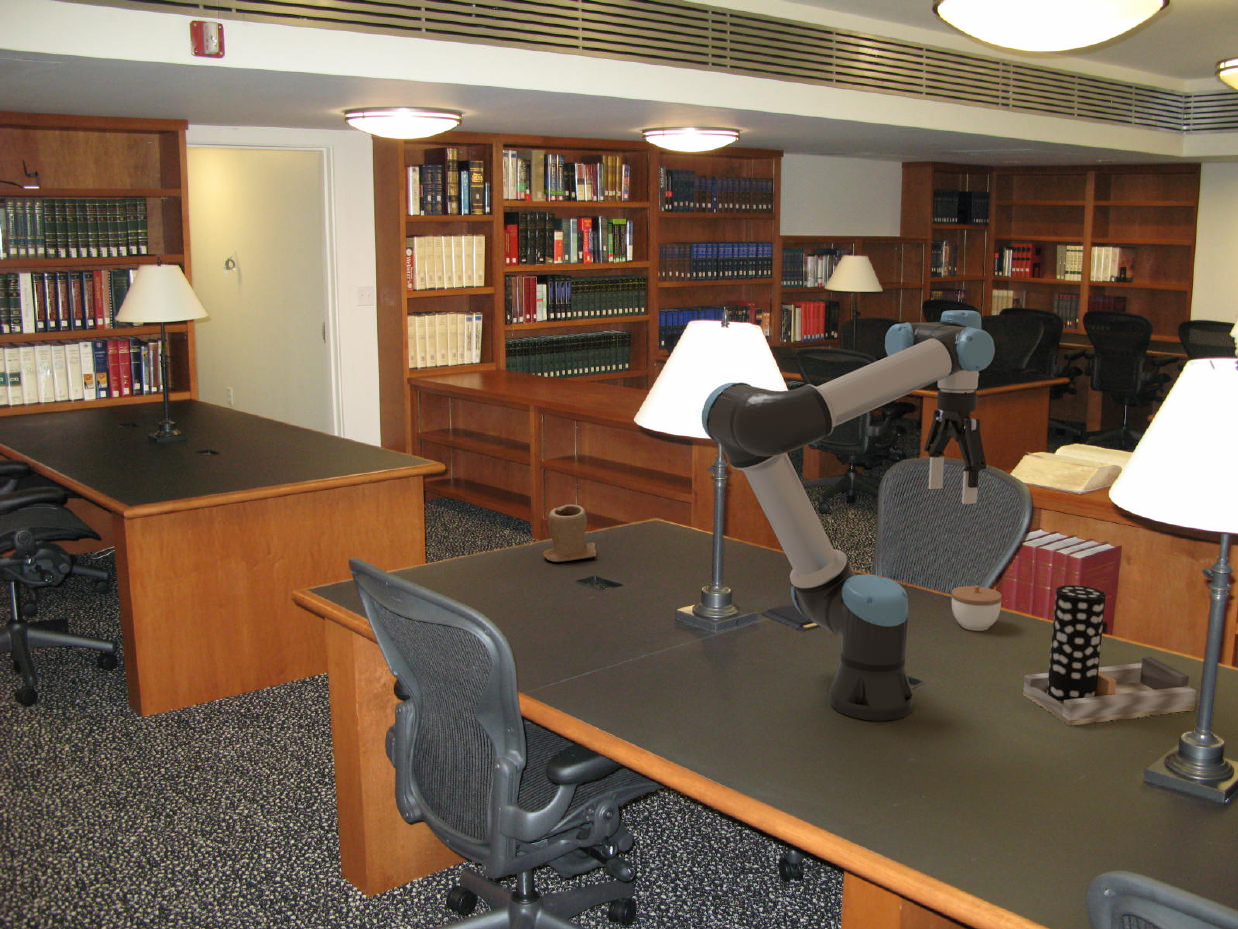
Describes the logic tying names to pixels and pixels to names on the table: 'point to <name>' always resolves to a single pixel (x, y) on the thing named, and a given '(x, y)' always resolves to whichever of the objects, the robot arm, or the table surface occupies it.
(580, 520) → the stone cup
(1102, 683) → the block
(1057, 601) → the white-spotted black cylinder
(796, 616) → the dark navy book
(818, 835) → the table surface
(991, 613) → the lidded jar
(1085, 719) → the marbled beige tray
